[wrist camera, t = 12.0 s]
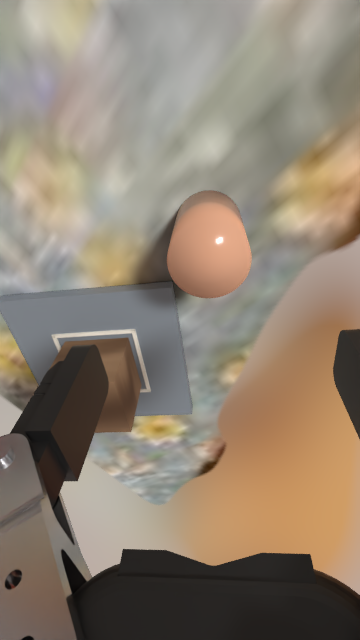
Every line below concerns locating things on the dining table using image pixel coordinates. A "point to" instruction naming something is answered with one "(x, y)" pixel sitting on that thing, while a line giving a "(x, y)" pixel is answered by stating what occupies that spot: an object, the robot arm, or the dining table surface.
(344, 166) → the dining table surface
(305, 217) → the dining table surface
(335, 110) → the dining table surface
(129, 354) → the walnut block
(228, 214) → the terracotta cylinder
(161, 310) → the board
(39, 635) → the robot arm
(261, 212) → the dining table surface
